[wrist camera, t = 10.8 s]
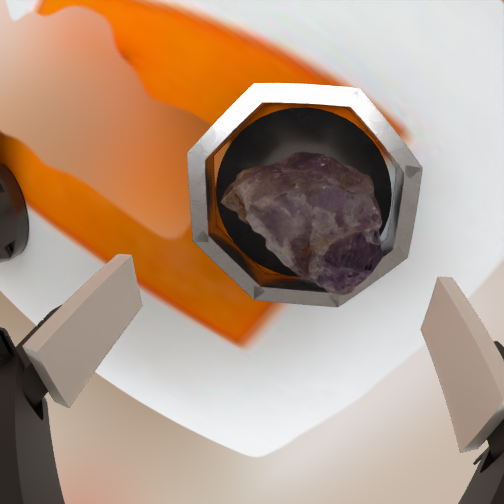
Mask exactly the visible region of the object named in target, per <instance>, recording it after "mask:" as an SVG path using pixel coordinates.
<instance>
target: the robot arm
mask: <svg viewBox="0 0 504 504" xmlns="http://www.w3.org/2000/svg"><path fill="white" fill-rule="evenodd" d="M27 238H28V219H27V212H26V207H25V203H24V199H23V196H22V193H21V191H20V188H19V186H18V184H17V182H16V180H15V178H14V176H13V175H12V173H11V172H10V171H9V170H8V168H7V167H5V166H4V165H3V164H1V163H0V262H5V261H9V260H11V259H13V258H14V257H15V256H17V255H18V254H20V253H21V252H22V251H23V250H24V248H25V246H26V243H27ZM141 307H142V302H141V297H140V293H139V288H138V283H137V279H136V274H135V268H134V263H133V258H132V255H128V254H117V255H116V256H115V257H114V258H112V259H111V260H110V261H109V262H108V263H107V264H106V265H105V266H104V267H102V268H101V269H100V270H99V271H98V272H97V273H96V274H95V275H94V276H93V277H91V278H90V279H89V280H88V281H87V282H86V283H85V284H84V285H83V286H82V287H81V288H80V289H79V290H78V291H76V292H75V293H74V294H73V295H72V296H71V297H70V298H69V299H68V300H67V301H66V302H65V303H64V304H63V305H61V306H59V307H57V308H55V309H54V310H52V311H51V312H50V313H49V314H48V315H47V316H46V317H45V318H44V320H42V321H41V322H40V323H39V324H38V326H37V327H35V328H34V329H33V330H32V331H31V332H30V333H29V334H28V335H27V336H26V337H25V338H24V339H23V340H22V341H21V342H20V343H19V344H18V346H16V347H15V346H14V344H13V342H12V340H11V338H10V336H9V334H8V332H7V331H6V330H5V329H4V328H1V327H0V504H65V503H64V499H63V495H62V491H61V487H60V483H59V478H58V474H57V469H56V464H55V458H54V452H53V446H52V440H51V433H50V425H49V416H48V406H47V401H46V399H45V397H44V396H45V394H46V393H47V392H49V394H50V395H51V397H52V398H53V400H54V401H55V402H56V403H59V404H61V405H63V406H65V407H67V408H70V407H71V405H72V404H73V402H74V401H75V399H76V398H77V396H78V395H79V393H80V392H81V391H82V389H83V387H84V386H85V385H86V383H87V382H88V380H89V379H90V377H91V376H92V375H93V373H94V372H95V370H96V369H97V367H98V366H99V365H100V363H101V362H102V360H103V359H104V358H105V356H106V355H107V353H108V352H109V351H110V349H111V348H112V346H113V345H114V344H115V342H116V341H117V340H118V338H119V337H120V335H121V334H122V333H123V331H124V330H125V329H126V327H127V326H128V325H129V323H130V322H131V321H132V319H133V318H134V317H135V315H136V314H137V313H138V311H139V310H140V309H141ZM421 332H422V334H423V337H424V339H425V342H426V344H427V347H428V350H429V352H430V355H431V357H432V361H433V363H434V366H435V369H436V372H437V375H438V378H439V381H440V384H441V387H442V390H443V393H444V396H445V399H446V403H447V406H448V409H449V413H450V416H451V420H452V423H453V427H454V431H455V434H456V438H457V442H458V446H459V451H460V453H462V452H467V451H471V450H475V449H478V448H479V447H480V446H481V445H482V444H483V443H484V442H485V441H486V440H487V441H488V444H489V447H488V448H487V449H486V450H485V451H484V452H483V453H482V454H481V455H480V456H479V457H478V458H477V459H476V460H475V462H474V463H473V464H474V465H475V464H477V463H478V462H479V461H480V460H481V461H480V463H479V465H478V467H477V469H476V471H475V473H474V475H473V477H472V480H471V481H470V483H469V486H468V487H467V489H466V491H465V493H464V495H463V496H462V498H461V500H460V502H459V503H458V504H504V347H503V346H502V345H501V344H500V343H499V342H498V341H493V340H492V338H491V337H490V335H489V333H488V332H487V330H486V328H485V326H484V325H483V323H482V322H481V320H480V318H479V317H478V315H477V314H476V312H475V310H474V309H473V307H472V306H471V304H470V303H469V301H468V300H467V298H466V297H465V295H464V294H463V292H462V291H461V289H460V288H459V286H458V285H457V283H456V282H455V280H454V279H453V278H450V277H438V278H437V281H436V284H435V288H434V291H433V294H432V297H431V300H430V303H429V306H428V309H427V312H426V315H425V318H424V321H423V324H422V326H421Z"/></svg>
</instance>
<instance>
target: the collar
mask: <svg viewBox="0 0 504 504" xmlns="http://www.w3.org/2000/svg"><path fill="white" fill-rule="evenodd" d="M266 103H286V104H309V105H325V106H338V107H347V108H348V109H349V110H350V111H351V112H352V114H353V115H354V116H355V117H356V118H357V119H358V120H359V121H360V123H361V124H362V125H363V126H364V127H365V128H366V130H367V131H368V132H369V133H370V134H371V136H372V137H373V138H374V139H375V140H376V142H377V143H378V144H379V145H380V146H381V148H382V149H383V150H384V151H385V153H386V154H387V155H388V157H389V158H390V159H391V160H392V162H393V163H394V164H395V166H396V167H397V170H396V180H395V188H394V196H393V204H392V211H391V218H390V224H389V230H388V236H387V239H386V240H385V241H383V242H382V243H381V249H382V254H383V258H382V259H381V261H380V262H379V264H378V265H377V266H376V268H375V269H374V271H373V272H372V273H371V274H370V276H369V277H368V278H367V279H366V280H364V281H363V282H362V283H361V284H359V285H358V286H357V287H355V289H354V290H353V292H352V293H350V294H347V295H340V294H333V293H330V292H328V291H326V290H325V288H323V287H319V286H318V285H317V283H315V282H313V281H311V280H309V279H307V278H304V277H302V276H299V275H297V274H296V273H295V272H294V271H292V270H291V269H290V268H288V267H287V266H285V265H284V264H283V263H282V262H281V261H280V259H279V258H278V257H277V256H276V255H275V254H274V253H273V252H272V251H270V250H269V249H268V248H267V247H266V239H265V238H264V237H263V236H262V235H261V234H259V233H257V232H255V231H253V229H252V227H251V225H249V224H247V223H245V222H244V221H242V220H241V219H240V218H239V217H238V213H237V212H236V211H232V210H230V209H229V208H227V207H226V206H225V205H224V204H222V203H221V201H222V197H223V195H224V193H225V191H226V189H227V188H228V186H229V185H230V184H232V183H233V182H235V181H236V176H237V175H238V174H239V173H241V172H242V171H243V170H245V169H249V168H252V167H257V166H267V165H272V164H274V163H276V162H279V161H281V160H284V159H286V158H287V157H288V156H290V155H292V154H294V153H295V152H310V153H321V154H325V155H328V156H330V157H332V158H334V159H336V160H337V161H339V162H340V163H342V164H344V165H347V166H350V167H353V168H355V169H357V170H358V171H359V172H361V173H363V174H365V175H368V176H370V178H371V180H372V182H373V185H374V196H375V198H376V200H377V202H378V205H379V208H380V211H381V220H382V225H381V226H380V228H379V236H380V235H381V234H382V232H383V230H384V228H385V225H386V222H387V220H388V217H389V212H390V207H391V196H392V193H391V181H390V177H389V172H388V169H387V166H386V164H385V161H384V159H383V157H382V155H381V153H380V151H379V150H378V148H377V147H376V145H375V144H374V143H373V141H372V140H371V139H370V138H369V137H368V136H367V135H366V134H365V133H364V131H362V130H361V129H360V128H359V127H357V126H356V125H355V124H353V123H352V122H350V121H348V120H347V119H345V118H343V117H341V116H339V115H336V114H334V113H332V112H328V111H324V110H320V109H314V108H290V109H284V110H280V111H276V112H273V113H270V114H268V115H266V116H263V117H261V118H259V119H258V120H256V121H255V122H253V123H251V124H250V125H249V126H247V127H246V128H245V129H244V130H243V131H242V132H240V134H239V135H238V136H237V137H236V138H235V139H234V140H233V142H232V143H231V145H230V146H229V148H228V149H227V151H226V153H225V155H224V157H223V159H222V162H221V165H220V168H219V171H218V177H217V186H216V196H217V205H218V209H219V213H220V216H221V219H222V222H223V224H224V226H225V228H226V230H227V232H228V234H229V235H230V237H231V238H232V240H233V241H234V243H235V244H236V245H237V246H238V247H239V248H240V249H241V250H240V249H239V248H238V247H237V246H236V245H235V244H234V243H233V242H232V241H231V240H230V239H229V238H228V237H227V236H226V235H225V234H224V233H223V232H222V231H221V230H220V229H219V228H218V227H217V226H216V204H215V177H214V155H215V154H216V153H217V152H218V151H219V150H220V149H221V148H222V147H223V146H224V145H225V144H226V143H227V142H228V141H229V140H230V139H231V138H232V137H233V136H234V135H235V134H236V133H237V132H238V131H239V130H240V129H241V128H242V127H243V126H244V125H245V124H246V123H247V122H248V121H249V120H250V119H251V118H252V117H253V116H254V115H255V114H256V113H257V112H258V111H259V110H260V109H261V108H262V107H263V106H264V105H265V104H266ZM187 157H188V177H189V194H190V210H191V224H192V237H193V242H194V243H195V244H196V245H197V246H198V247H199V248H200V249H201V250H202V251H203V252H204V253H205V254H207V255H208V256H209V257H210V258H211V259H212V260H213V261H214V262H215V263H216V264H217V265H218V266H219V267H220V268H221V269H222V270H223V271H224V272H225V273H226V274H227V275H228V276H229V277H230V278H231V279H232V280H234V281H235V282H236V283H237V284H238V285H239V286H240V287H241V288H242V289H243V290H244V291H245V292H246V293H247V294H248V295H249V296H250V297H251V298H253V299H254V300H260V301H270V302H281V303H292V304H303V305H315V306H328V307H339V306H341V305H342V304H344V303H345V302H346V301H348V300H349V299H351V298H352V297H354V296H355V295H357V294H358V293H360V292H361V291H363V290H364V289H365V288H367V287H368V286H370V285H371V284H372V283H374V282H375V281H377V280H378V279H379V278H381V277H382V276H384V275H385V274H386V273H388V272H389V271H390V270H392V269H393V268H395V267H396V266H397V265H399V264H400V263H401V262H403V261H404V260H405V259H407V257H408V253H409V248H410V243H411V238H412V233H413V228H414V222H415V216H416V211H417V204H418V198H419V191H420V183H421V176H422V166H421V165H420V164H419V162H418V161H417V159H416V158H415V157H414V155H413V154H412V152H411V151H410V150H409V148H408V147H407V146H406V144H405V143H404V142H403V140H402V139H401V138H400V136H399V135H398V134H397V133H396V131H395V130H394V129H393V128H392V126H391V125H390V124H389V123H388V121H387V120H386V119H385V118H384V117H383V115H382V114H381V113H380V112H379V111H378V109H377V108H376V107H375V106H374V105H373V104H372V102H371V101H370V100H369V99H368V98H367V97H366V96H365V95H364V93H363V92H362V91H361V90H360V89H359V88H349V87H339V86H327V85H311V84H283V83H254V84H253V85H252V86H251V87H250V88H249V89H248V90H247V91H246V92H245V93H244V94H243V95H242V96H241V97H240V98H239V99H238V100H237V101H236V102H235V103H234V104H233V105H232V106H231V107H230V108H229V109H228V110H227V111H226V112H225V113H224V114H223V115H222V116H221V117H220V118H219V119H218V120H217V121H216V122H215V123H214V124H213V125H212V126H211V128H210V129H209V130H208V131H207V132H206V133H205V134H204V135H203V136H202V137H201V138H200V139H199V141H198V142H197V143H196V144H195V145H194V146H193V147H192V148H191V150H190V151H189V152H188V153H187ZM243 252H244V253H245V254H246V255H247V256H248V257H249V258H251V259H252V260H254V261H255V262H256V263H258V264H260V265H261V266H263V267H265V268H267V269H269V270H272V271H275V272H277V273H281V274H284V275H274V274H265V273H264V272H263V271H262V270H261V269H260V268H259V267H258V266H257V265H256V264H255V263H254V262H252V261H251V260H250V259H249V258H248V257H247V256H246V255H245V254H244V253H243ZM286 275H288V276H286Z"/></svg>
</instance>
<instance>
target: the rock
mask: <svg viewBox="0 0 504 504" xmlns="http://www.w3.org/2000/svg"><path fill="white" fill-rule="evenodd" d="M221 203H222V204H224V205H225V206H226V207H227V208H229V209H230V210H232V211H236V212H237V213H238V217H239V218H240V219H241V220H242V221H244V222H245V223H247V224H249V225H251V227H252V229H253V231H255V232H257V233H259V234H261V235H262V236H263V237H264V238H265V239H266V247H267V248H268V249H269V250H270V251H272V252H273V253H274V254H275V255H276V256H277V257H278V258H279V259H280V261H281V262H282V263H283V264H284V265H285V266H287V267H288V268H290V269H291V270H292V271H294V272H295V273H296V274H297V275H299V276H302V277H304V278H307V279H309V280H311V281H313V282H315V283H317V285H318V286H319V287H323V288H325V290H326V291H328V292H330V293H333V294H340V295H347V294H350V293H352V292H353V290H354V289H355V287H357V286H358V285H359V284H361V283H362V282H363V281H364V280H366V279H367V278H368V277H369V276H370V274H371V273H372V272H373V271H374V269H375V268H376V266H377V265H378V264H379V262H380V261H381V259H382V258H383V254H382V249H381V240H380V236H379V228H380V226H381V225H382V220H381V211H380V208H379V205H378V202H377V200H376V198H375V196H374V185H373V182H372V180H371V178H370V176H368V175H365V174H363V173H361V172H359V171H358V170H357V169H355V168H353V167H350V166H347V165H344V164H342V163H340V162H339V161H337V160H336V159H334V158H332V157H330V156H328V155H325V154H321V153H310V152H295V153H294V154H292V155H290V156H288V157H287V158H286V159H284V160H281V161H279V162H276V163H274V164H272V165H267V166H257V167H252V168H249V169H245V170H243V171H242V172H241V173H239V174H238V175H237V176H236V181H235V182H233V183H232V184H230V185H229V186H228V188H227V189H226V191H225V193H224V195H223V197H222V201H221Z"/></svg>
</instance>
